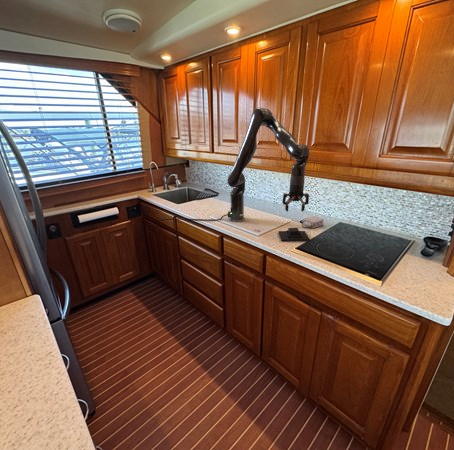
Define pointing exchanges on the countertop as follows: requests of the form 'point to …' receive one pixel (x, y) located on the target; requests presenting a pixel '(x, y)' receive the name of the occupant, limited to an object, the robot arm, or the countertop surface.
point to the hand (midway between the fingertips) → (294, 211)
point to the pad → (293, 231)
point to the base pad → (286, 237)
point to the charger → (312, 222)
